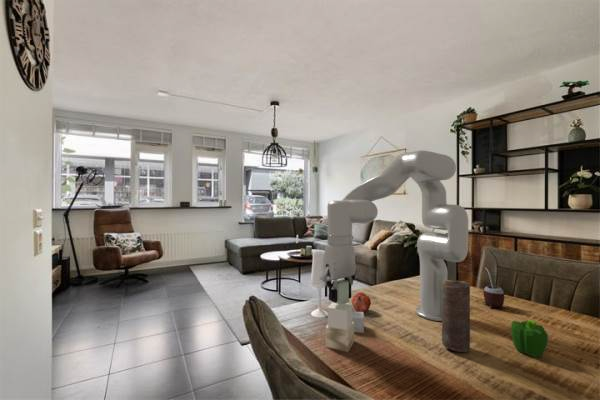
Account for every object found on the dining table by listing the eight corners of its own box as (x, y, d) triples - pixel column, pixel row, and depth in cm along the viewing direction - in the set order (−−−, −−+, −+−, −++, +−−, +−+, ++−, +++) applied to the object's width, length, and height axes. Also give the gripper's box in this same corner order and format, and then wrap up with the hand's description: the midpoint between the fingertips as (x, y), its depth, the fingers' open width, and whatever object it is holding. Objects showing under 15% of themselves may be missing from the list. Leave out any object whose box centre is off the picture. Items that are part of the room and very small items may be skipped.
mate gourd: (501, 311, 109) (501, 273, 109) (478, 305, 116) (478, 269, 115) (507, 307, 114) (507, 270, 114) (485, 301, 120) (485, 267, 120)
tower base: (354, 341, 88) (354, 322, 88) (348, 352, 81) (347, 332, 81) (333, 336, 91) (332, 318, 91) (325, 347, 85) (325, 327, 84)
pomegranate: (354, 311, 116) (344, 302, 110) (361, 295, 118) (352, 285, 112) (370, 319, 110) (360, 310, 104) (377, 302, 113) (368, 292, 107)
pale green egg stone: (350, 299, 87) (350, 280, 87) (346, 305, 83) (345, 285, 82) (334, 296, 90) (334, 278, 89) (329, 302, 85) (329, 282, 85)
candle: (469, 358, 78) (469, 287, 78) (440, 351, 82) (440, 283, 82) (470, 346, 84) (470, 280, 84) (443, 339, 88) (443, 277, 88)
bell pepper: (508, 342, 87) (508, 310, 87) (543, 349, 83) (543, 315, 83) (513, 355, 80) (513, 320, 79) (551, 363, 75) (551, 327, 75)
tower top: (352, 322, 87) (352, 303, 87) (347, 331, 82) (346, 310, 82) (333, 319, 90) (333, 300, 90) (327, 327, 85) (327, 307, 85)
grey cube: (363, 326, 98) (363, 312, 98) (364, 333, 93) (363, 318, 93) (348, 325, 99) (348, 311, 99) (348, 331, 94) (348, 317, 94)
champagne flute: (322, 309, 113) (322, 250, 113) (331, 315, 107) (331, 253, 107) (307, 312, 110) (307, 251, 110) (316, 318, 104) (315, 254, 104)
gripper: (351, 236, 94) (351, 290, 94) (310, 241, 84) (310, 301, 84) (368, 239, 88) (368, 297, 88) (326, 245, 78) (326, 309, 78)
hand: (340, 298), depth 86 cm, fingers closed on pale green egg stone, 5 cm apart
